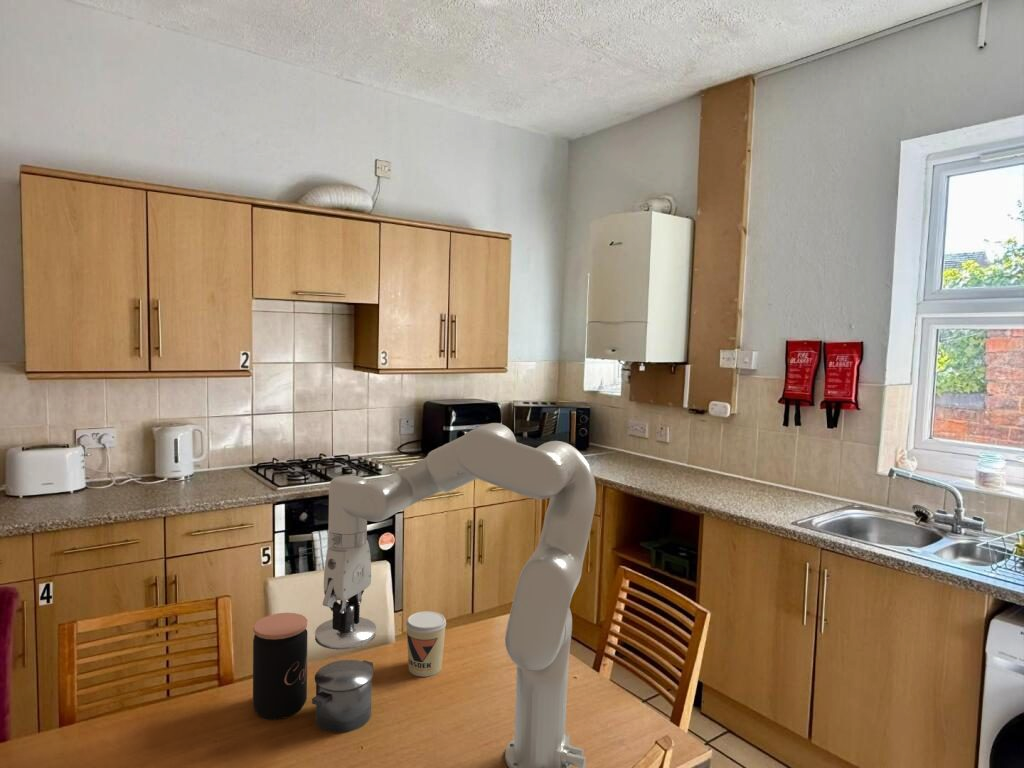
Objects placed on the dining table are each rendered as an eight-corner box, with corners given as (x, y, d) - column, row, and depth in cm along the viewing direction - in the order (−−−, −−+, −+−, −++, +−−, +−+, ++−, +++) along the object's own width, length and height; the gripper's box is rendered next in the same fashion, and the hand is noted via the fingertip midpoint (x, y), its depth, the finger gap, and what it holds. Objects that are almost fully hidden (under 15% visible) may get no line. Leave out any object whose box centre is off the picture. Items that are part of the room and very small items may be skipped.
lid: (387, 629, 133) (388, 600, 133) (351, 654, 122) (351, 623, 122) (341, 617, 138) (341, 589, 138) (302, 641, 127) (302, 610, 127)
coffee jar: (289, 725, 128) (290, 638, 127) (241, 717, 130) (242, 631, 129) (316, 696, 138) (317, 615, 137) (271, 689, 140) (272, 609, 139)
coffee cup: (398, 674, 148) (399, 624, 148) (415, 655, 157) (416, 608, 157) (435, 681, 146) (436, 630, 145) (451, 662, 155) (452, 614, 154)
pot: (390, 702, 137) (391, 662, 136) (340, 747, 122) (341, 701, 121) (346, 689, 141) (346, 650, 141) (293, 730, 126) (293, 686, 125)
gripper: (336, 553, 120) (334, 647, 121) (386, 530, 135) (384, 614, 136) (304, 546, 123) (303, 639, 124) (357, 524, 138) (355, 607, 139)
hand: (346, 625), depth 130 cm, fingers closed on lid, 3 cm apart
